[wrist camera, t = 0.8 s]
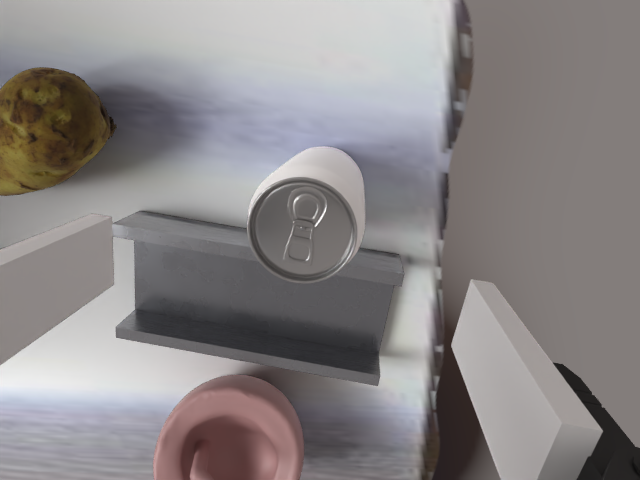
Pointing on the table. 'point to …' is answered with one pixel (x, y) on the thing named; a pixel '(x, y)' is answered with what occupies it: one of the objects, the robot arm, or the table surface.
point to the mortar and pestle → (231, 434)
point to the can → (308, 216)
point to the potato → (48, 129)
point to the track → (254, 300)
